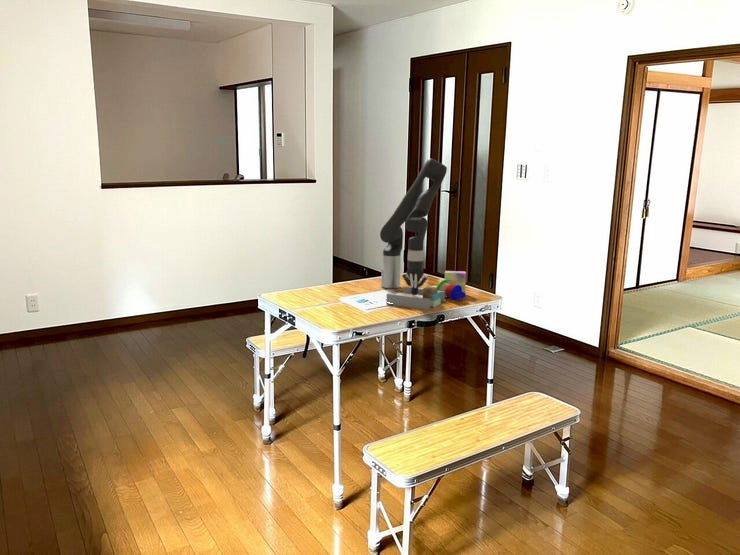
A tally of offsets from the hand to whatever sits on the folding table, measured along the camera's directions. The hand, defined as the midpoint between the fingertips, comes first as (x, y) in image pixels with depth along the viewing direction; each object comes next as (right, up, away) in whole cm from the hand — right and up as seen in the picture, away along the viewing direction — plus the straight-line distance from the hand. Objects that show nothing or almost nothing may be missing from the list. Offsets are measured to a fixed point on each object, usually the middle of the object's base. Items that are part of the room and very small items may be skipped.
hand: (414, 294), depth 297 cm
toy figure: (+18, -3, +7) cm, 19 cm away
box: (+21, -1, +17) cm, 27 cm away
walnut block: (+7, -2, -4) cm, 8 cm away
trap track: (+1, -4, 0) cm, 4 cm away
